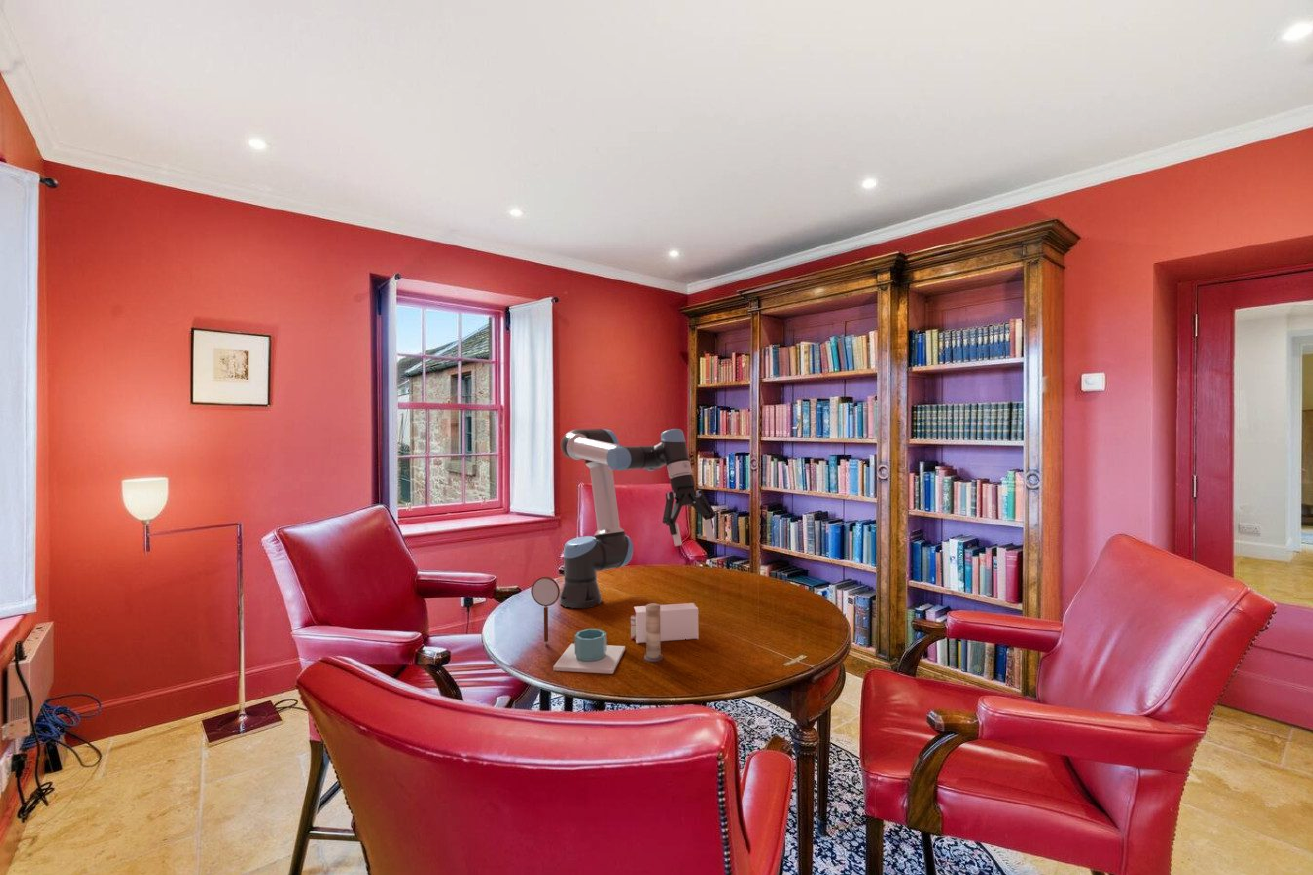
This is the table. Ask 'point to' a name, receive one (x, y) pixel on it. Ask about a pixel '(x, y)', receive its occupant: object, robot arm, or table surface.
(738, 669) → the table surface
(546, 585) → the magnifying glass
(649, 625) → the pillar candle on dish
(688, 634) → the cigarette display
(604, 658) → the octagonal cup on tile
